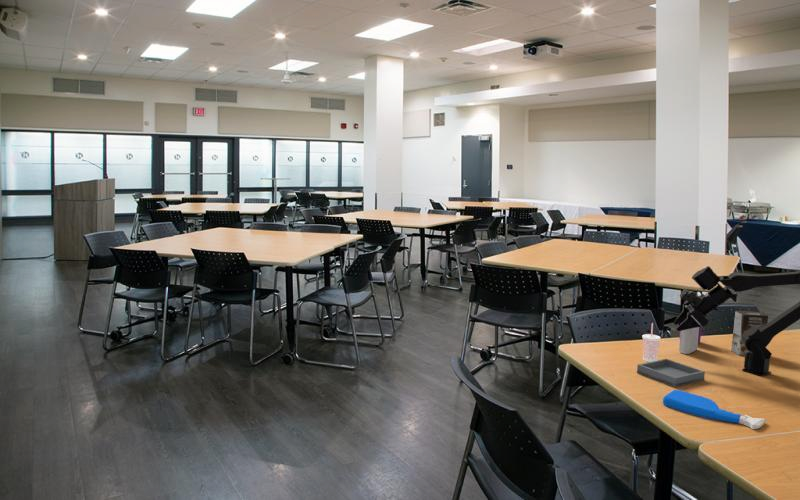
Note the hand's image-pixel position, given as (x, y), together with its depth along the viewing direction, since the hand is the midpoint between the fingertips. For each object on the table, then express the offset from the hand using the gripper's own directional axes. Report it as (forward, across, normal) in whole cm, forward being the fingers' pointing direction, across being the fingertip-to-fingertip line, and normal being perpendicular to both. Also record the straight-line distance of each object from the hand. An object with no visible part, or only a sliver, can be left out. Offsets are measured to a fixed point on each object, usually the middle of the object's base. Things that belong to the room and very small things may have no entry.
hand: (675, 326), depth 200 cm
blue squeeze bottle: (+6, +44, +14) cm, 47 cm away
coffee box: (-10, -23, +30) cm, 39 cm away
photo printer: (+5, -18, +15) cm, 23 cm away
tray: (+11, +16, +8) cm, 21 cm away
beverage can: (+3, -32, +16) cm, 36 cm away
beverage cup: (+15, 0, +4) cm, 16 cm away
